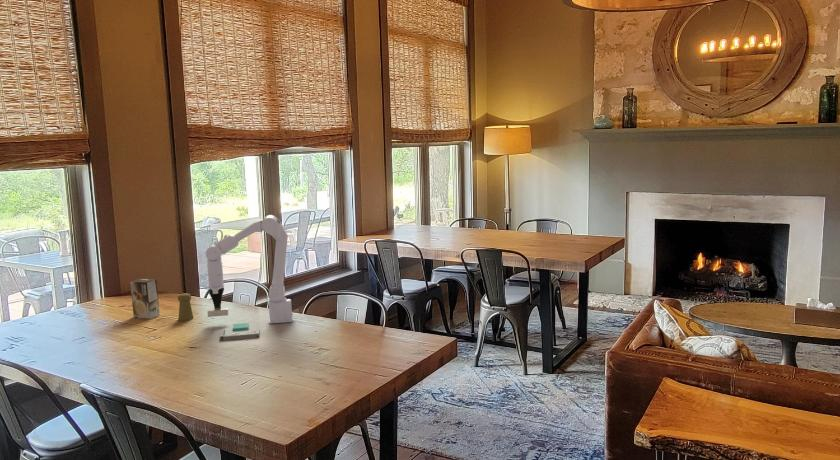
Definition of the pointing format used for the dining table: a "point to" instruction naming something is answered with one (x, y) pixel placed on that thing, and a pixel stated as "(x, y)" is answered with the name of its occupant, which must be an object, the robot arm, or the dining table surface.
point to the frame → (238, 335)
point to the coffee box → (145, 298)
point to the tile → (241, 326)
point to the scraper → (217, 312)
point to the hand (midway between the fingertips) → (217, 306)
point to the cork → (185, 307)
